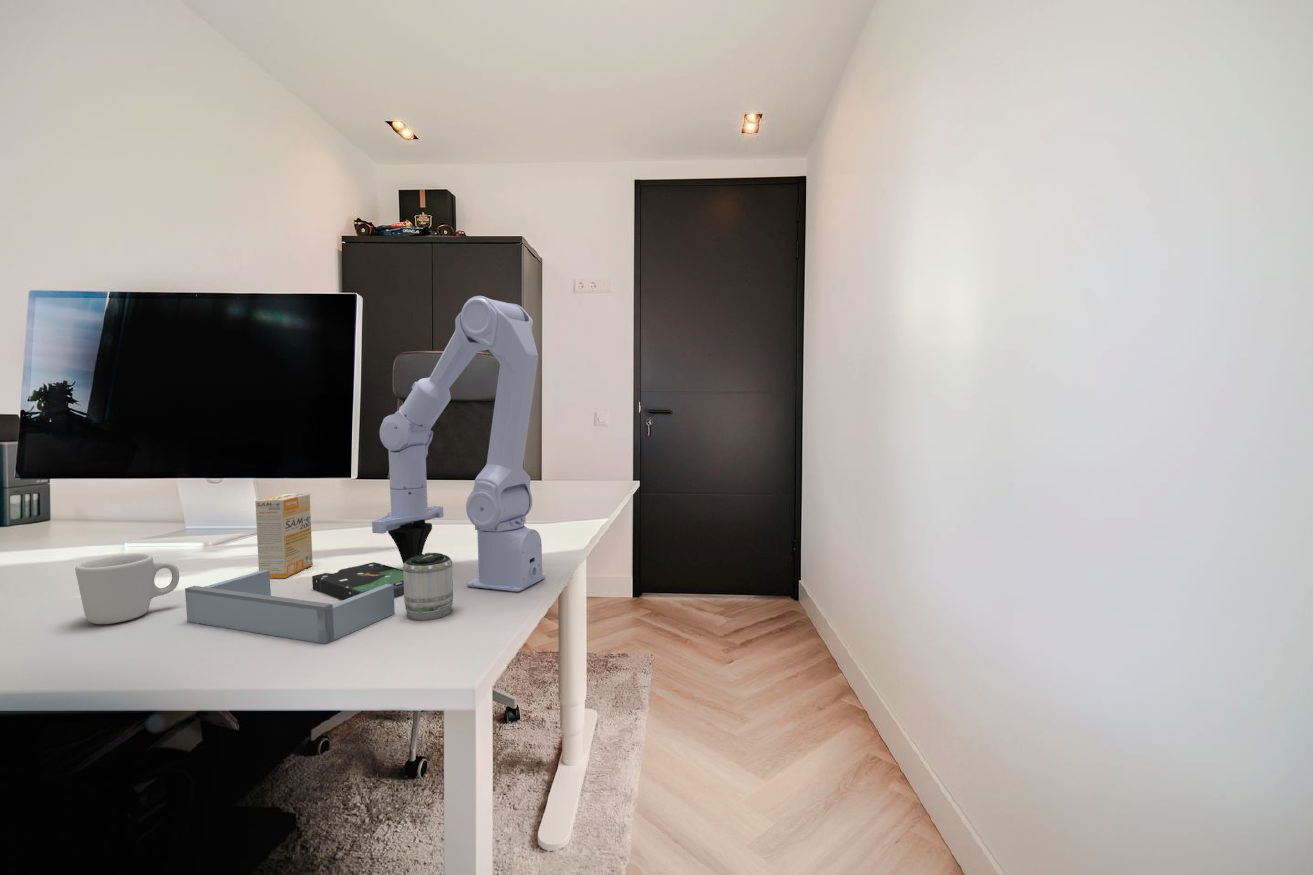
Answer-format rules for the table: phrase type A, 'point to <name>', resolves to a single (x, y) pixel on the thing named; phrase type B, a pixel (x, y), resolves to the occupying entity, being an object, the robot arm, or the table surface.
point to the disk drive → (359, 580)
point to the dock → (284, 609)
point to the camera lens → (428, 586)
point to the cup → (120, 586)
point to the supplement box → (284, 534)
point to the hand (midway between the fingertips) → (411, 567)
